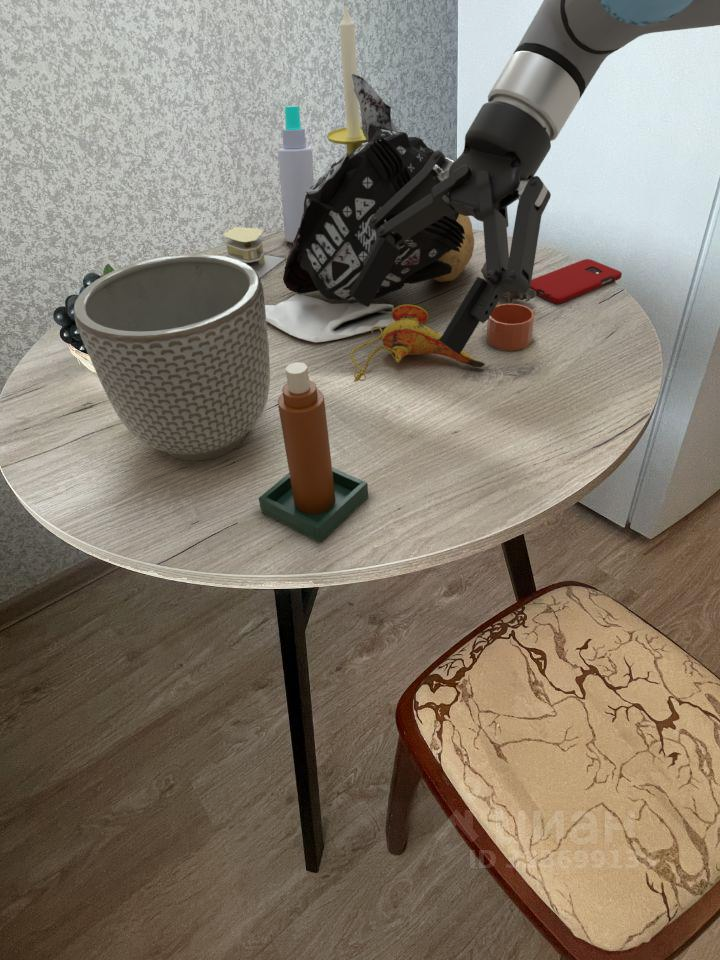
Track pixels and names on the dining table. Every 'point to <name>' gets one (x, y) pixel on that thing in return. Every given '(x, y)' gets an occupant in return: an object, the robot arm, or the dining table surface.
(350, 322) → the cloth
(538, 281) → the cell phone
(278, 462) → the dining table surface
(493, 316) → the terracotta round cup
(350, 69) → the candle
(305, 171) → the spray bottle
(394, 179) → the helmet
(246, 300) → the planter
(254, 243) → the stacked layers on plate
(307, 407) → the bottle
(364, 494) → the tray
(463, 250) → the potato
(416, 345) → the magic lamp
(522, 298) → the rhino figurine
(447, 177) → the robot arm
